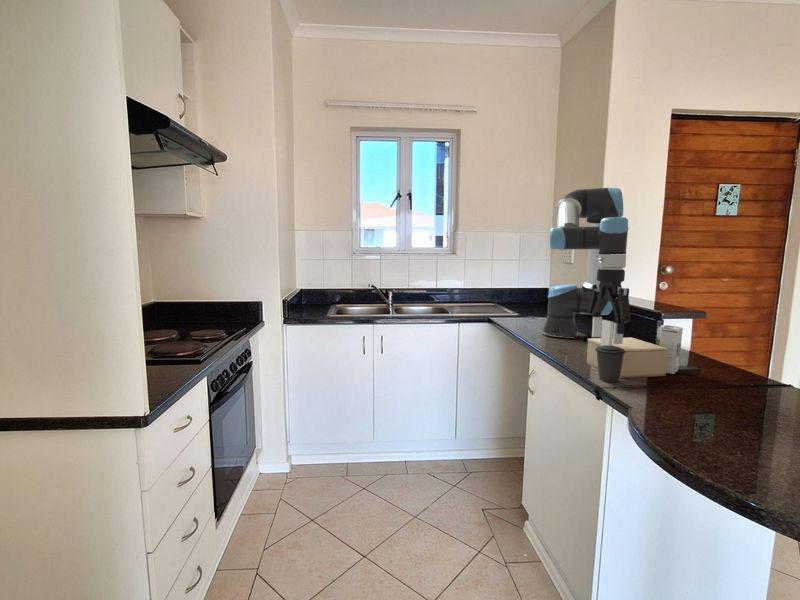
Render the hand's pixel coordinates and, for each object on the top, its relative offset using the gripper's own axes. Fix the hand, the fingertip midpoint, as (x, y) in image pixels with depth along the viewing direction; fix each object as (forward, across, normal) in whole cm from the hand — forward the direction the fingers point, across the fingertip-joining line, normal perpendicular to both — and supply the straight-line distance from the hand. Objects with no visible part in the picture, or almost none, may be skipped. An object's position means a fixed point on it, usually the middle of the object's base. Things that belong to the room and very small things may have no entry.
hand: (606, 340), depth 124 cm
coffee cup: (+11, +6, -3) cm, 13 cm away
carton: (+11, -2, +9) cm, 14 cm away
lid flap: (+3, -3, +8) cm, 9 cm away
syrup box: (+11, +1, +21) cm, 24 cm away
